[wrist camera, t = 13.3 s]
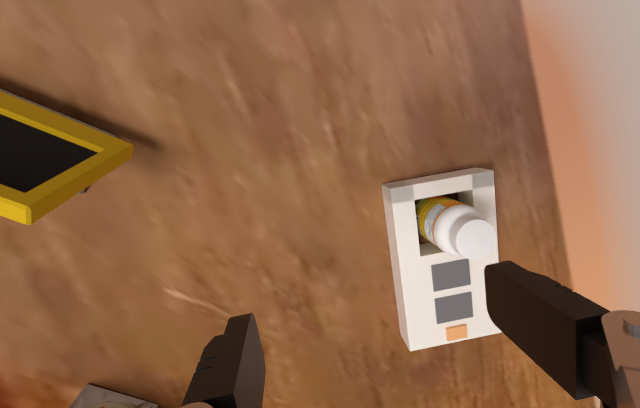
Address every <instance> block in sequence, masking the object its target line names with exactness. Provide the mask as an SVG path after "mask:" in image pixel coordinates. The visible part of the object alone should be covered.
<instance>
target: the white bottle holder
mask: <svg viewBox="0 0 640 408" xmlns="http://www.w3.org/2000/svg"><path fill="white" fill-rule="evenodd" d="M381 185H382V193H383V201H384V209H385V216H386V224H387V232H388V240H389V248H390V256H391V263H392V271H393V279H394V287H395V295H396V303H397V311H398V318H399V326H400V334H401V336H402V338H403V340H404V341H405V343H406V345H407V347H408V349H409V350H410V351H414V350H419V349H424V348H429V347H433V346H438V345H443V344H448V343H453V342H458V341H462V340H467V339H472V338H477V337H482V336H487V335H491V334H496V333H501V332H502V331H501V330H500V329H499V328H498V327H496V326H495V325H494V323H493V322H492V320H491V319H490V317H489V314H488V311H487V306H486V293H485V279H484V269H485V266H486V265H489V264H494V263H499V261H498V243H497V225H496V207H495V188H494V170H489V169H483V168H477V167H475V168H470V169H464V170H458V171H453V172H447V173H442V174H436V175H430V176H425V177H419V178H414V179H408V180H403V181H397V182H391V183H386V184H381ZM456 192H458V202H461V203H463V204H466V205H469V206H471V207H473V208H475V209H477V210H478V211H479V212H480V213H481V214H482V215H483V217H484V219H485V220H486V221H487V222H489V223H490V224H491V225H492V226H493V227H494V229H495V232H496V243H495V246H494V248H493V249H492V251H491V252H490V253H489V254H488V255H486V256H485V257H483V258H481V259H477V260H470V259H467V258H464V257H463V256H452V255H449V254H447V253H445V252H444V251H442V250H441V249H440V248H438V247H437V246H436V245H434V244H433V243H432V242H431V243H426V244H420V245H419V238H418V229H417V220H416V211H415V201H414V200H417V199H423V198H428V197H434V196H439V195H445V194H450V193H456Z"/></svg>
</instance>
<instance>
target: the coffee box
mask: <svg viewBox="0 0 640 408" xmlns="http://www.w3.org/2000/svg"><path fill="white" fill-rule="evenodd" d="M69 408H158V405H157V404H154V403H151V402H148V401H144V400H141V399H137V398H134V397H131V396H127V395H124V394H120V393H117V392H113V391H110V390H107V389H103V388H100V387H96V386H93V385H89V384H87V385H86V386H85V388H84V389H83V390H82V391H81V393H80V394H79V395H78V396H77V398H76V399H75V400H74V401H73V403H72V404H71V405H70V406H69Z"/></svg>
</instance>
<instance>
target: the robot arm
mask: <svg viewBox="0 0 640 408" xmlns="http://www.w3.org/2000/svg"><path fill="white" fill-rule="evenodd" d="M484 279H485V293H486V306H487V311H488V314H489V317H490V319H491V320H492V322H493V323H494V325H495V326H496V327H498V328H499V329H500V330H501V331H502V332H503V333H504V334H505V335H506V336H507V337H508V338H509V339H510V340H512V341H513V342H514V343H515V344H516V345H517V346H518V347H519V348H520V349H521V350H522V351H523V352H524V353H526V354H527V355H528V356H529V357H530V358H531V359H532V360H533V361H534V362H535V363H536V364H537V365H538V366H540V367H541V368H542V369H543V370H544V371H545V372H546V373H547V374H548V375H549V376H550V377H551V378H552V379H554V380H555V381H556V382H557V383H558V384H559V385H560V386H561V387H562V388H563V389H564V390H565V391H566V392H568V393H569V394H570V395H571V396H572V397H573V398H574V399H575V400H580V399H584V398H588V397H593V396H597V397H598V398H599V399H600V408H640V312H636V311H626V310H623V311H622V310H619V311H612V312H610V311H609V310H607V309H605V308H603V307H601V306H600V305H598V304H596V303H594V302H592V301H591V300H589V299H587V298H585V297H583V296H581V295H580V294H578V293H576V292H572V290H571V289H569V288H567V287H565V286H561V284H560V283H558V282H556V281H554V280H552V279H551V278H549V277H547V276H544V275H540V274H537V273H534V272H530V271H527V270H526V269H524V268H522V267H520V266H519V265H517V264H515V263H513V262H512V261H504V262H499V263H494V264H489V265H486V266H485V269H484ZM264 382H265V360H264V354H263V350H262V345H261V341H260V337H259V333H258V329H257V325H256V321H255V317H254V315H253V313H249V314H244V315H240V316H235V317H230V318H229V320H228V323H227V326H226V329H225V332H224V335H219V336H215V337H214V338H213V339H212V340H211V341H210V342H209V343H208V345H207V346H206V347H205V348H204V350H203V353H202V355H201V358H200V362H199V363H198V365H197V368H196V372H195V373H194V375H193V378H192V380H191V383H190V385H189V388H188V390H187V393H186V395H185V398H184V400H183V403H182V405H181V407H180V408H262V402H263V392H264Z"/></svg>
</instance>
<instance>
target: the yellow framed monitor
mask: <svg viewBox="0 0 640 408" xmlns="http://www.w3.org/2000/svg"><path fill="white" fill-rule="evenodd" d="M133 149H134V146H133V145H132V144H130V143H128V142H125V141H123V140H121V139H118V138H117V137H116V135H113V134H111V133H108V132H106V131H103V130H101V129H98V128H96V127H94V126H91V125H89V124H86V123H84V122H81V121H79V120H76V119H74V118H71V117H69V116H66V115H64V114H62V113H59V112H57V111H54V110H52V109H49V108H47V107H44V106H42V105H39V104H37V103H34V102H32V101H29V100H27V99H25V98H22V97H20V96H17V95H15V94H12V93H10V92H7V91H5V90H2V89H0V216H3V217H6V218H9V219H12V220H15V221H17V222H20V223H23V224H32V223H34V222H35V221H37V220H38V219H40V218H41V217H43V216H44V215H46V214H47V213H49V212H50V211H52V210H53V209H55V208H56V207H58V206H59V205H61V204H62V203H64V202H65V201H67V200H68V199H70V198H71V197H73V196H74V195H77V194H80V193H83V192H84V191H85V189H86V188H87V187H88V186H90V185H91V184H93V183H94V182H96V181H97V180H99V179H100V178H102V177H103V176H105V175H106V174H108V173H109V172H111V171H112V170H114V169H115V168H117V167H118V166H120V165H121V164H123V163H124V162H126V161H127V160H129V159H131V158H132V155H133Z"/></svg>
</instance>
